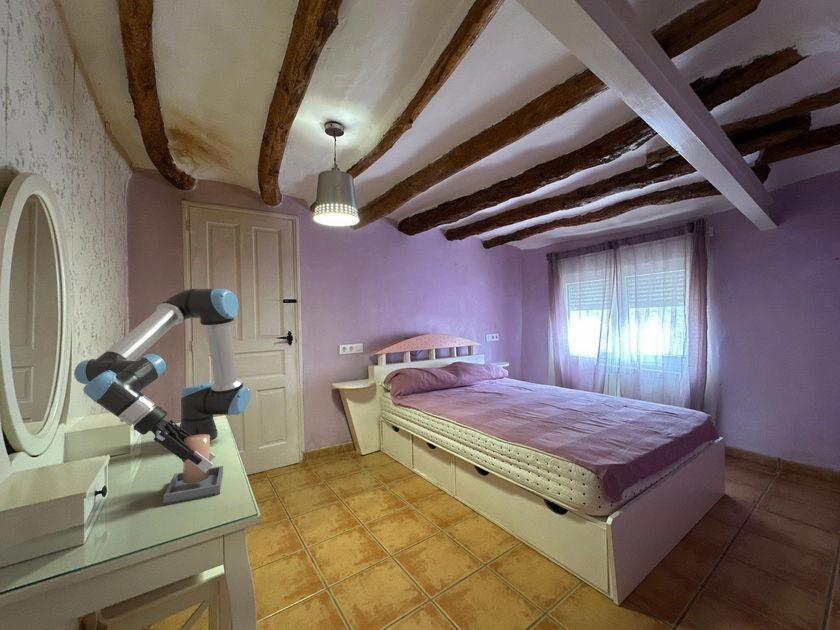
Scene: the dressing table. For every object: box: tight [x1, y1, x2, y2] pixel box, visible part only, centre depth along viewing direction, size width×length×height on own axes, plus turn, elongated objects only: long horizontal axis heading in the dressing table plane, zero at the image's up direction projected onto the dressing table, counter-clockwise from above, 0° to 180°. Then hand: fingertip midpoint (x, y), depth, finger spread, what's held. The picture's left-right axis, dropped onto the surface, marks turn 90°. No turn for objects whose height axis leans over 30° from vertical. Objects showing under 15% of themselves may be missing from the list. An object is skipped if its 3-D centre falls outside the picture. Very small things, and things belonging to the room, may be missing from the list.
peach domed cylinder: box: [182, 434, 211, 483], centre depth 99 cm, size 6×6×12 cm
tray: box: [162, 465, 224, 506], centre depth 99 cm, size 15×13×2 cm
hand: (210, 463), depth 101 cm, fingers closed on peach domed cylinder, 6 cm apart
